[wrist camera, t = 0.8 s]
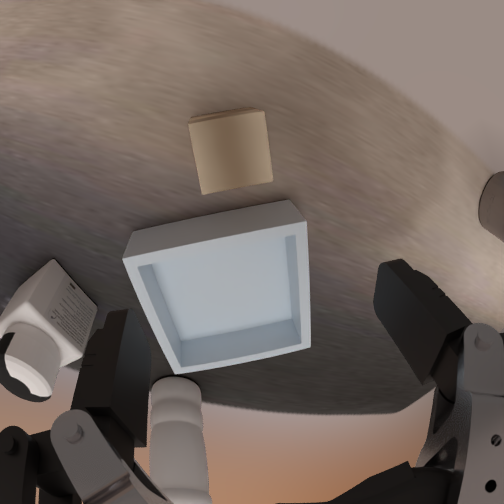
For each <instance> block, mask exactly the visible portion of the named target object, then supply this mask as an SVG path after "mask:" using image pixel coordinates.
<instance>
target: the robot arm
mask: <svg viewBox="0 0 504 504" xmlns="http://www.w3.org/2000/svg"><path fill="white" fill-rule="evenodd" d="M479 218H480V222H481V225H482V226H483V227H484V228H485V229H486V230H488V231H489V232H491V233H492V234H493V235H495V236H496V237H497V238H499V239H500V240H501V241H503V242H504V171H503V172H498V173H496V174H495V175H494V176H493V177H492V178H491V179H490V180H489V182H488V184H487V185H486V187H485V189H484V192H483V195H482V197H481V202H480V208H479ZM373 303H374V309H375V312H376V315H377V317H378V318H379V320H380V321H381V323H382V324H383V325H384V327H385V328H386V330H387V331H388V333H389V334H390V336H391V337H392V339H393V340H394V342H395V343H396V345H397V346H398V348H399V350H400V351H401V353H402V354H403V356H404V357H405V359H406V360H407V362H408V364H409V365H410V367H411V368H412V370H413V371H414V373H415V375H416V376H417V378H418V379H419V381H420V383H421V384H422V386H423V385H425V384H427V383H429V382H432V381H435V382H436V384H437V386H436V388H435V391H434V399H433V406H432V412H431V418H430V424H429V429H428V435H427V439H426V442H425V444H424V446H423V448H422V450H421V452H420V455H419V457H418V460H417V463H416V466H415V467H413V468H411V467H410V465H409V463H408V461H406V462H404V463H402V464H400V465H398V466H395V467H393V468H391V469H388V470H386V471H384V472H381V473H379V474H376V475H374V476H371V477H369V478H367V479H366V480H364V481H363V482H361V483H360V484H358V485H356V486H355V487H353V488H352V489H350V490H348V491H347V492H345V493H343V494H342V495H340V496H338V497H336V498H335V499H333V500H331V501H328V502H319V503H277V504H504V333H498V331H497V330H495V329H494V328H493V327H491V326H489V325H487V324H484V323H474V324H472V323H471V322H470V320H469V319H468V318H467V317H466V316H465V315H464V314H463V313H462V311H461V310H460V309H459V308H458V307H457V306H456V305H455V304H454V303H453V302H452V301H451V299H450V298H449V297H448V296H445V293H444V292H443V291H442V290H441V289H440V288H438V286H437V285H436V284H435V283H434V282H433V281H432V280H431V279H430V278H429V277H428V276H426V275H425V274H423V273H421V272H419V271H417V270H413V269H412V268H411V267H410V266H409V265H408V264H407V263H406V262H405V261H404V260H403V259H396V260H392V261H388V262H383V263H381V264H380V265H379V268H378V274H377V281H376V287H375V293H374V300H373ZM84 355H85V357H84V358H83V361H82V365H81V366H82V368H80V372H79V376H78V380H77V384H76V388H75V392H74V396H73V401H72V405H71V409H70V410H69V411H66V412H64V413H63V414H61V415H60V416H59V417H58V418H57V419H56V420H55V421H54V423H53V425H52V428H51V430H47V431H44V432H40V433H36V434H32V435H28V434H27V433H26V432H25V431H23V429H21V428H20V427H17V426H9V427H7V428H5V429H4V430H2V431H1V432H0V504H35V497H36V487H38V488H39V504H82V502H83V504H174V503H173V502H171V501H170V499H169V498H168V497H167V496H166V495H165V494H164V493H163V492H162V491H161V490H160V489H159V487H158V486H157V485H156V484H155V483H154V482H153V481H152V479H151V478H150V477H149V476H148V475H147V473H146V472H145V471H144V470H143V469H142V468H141V466H140V465H139V464H138V462H137V461H136V460H135V459H134V447H146V445H147V442H146V441H147V416H148V415H147V414H148V397H149V383H150V370H151V351H150V347H149V343H148V341H147V339H146V337H145V334H144V332H143V330H142V328H141V326H140V323H139V321H138V319H137V317H136V314H135V312H134V311H133V310H132V309H124V310H117V311H110V312H109V313H108V314H107V317H106V321H105V324H104V328H103V329H97V330H96V332H95V333H94V334H93V336H92V337H91V338H90V340H89V341H88V344H87V347H86V351H85V354H84Z"/></svg>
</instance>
